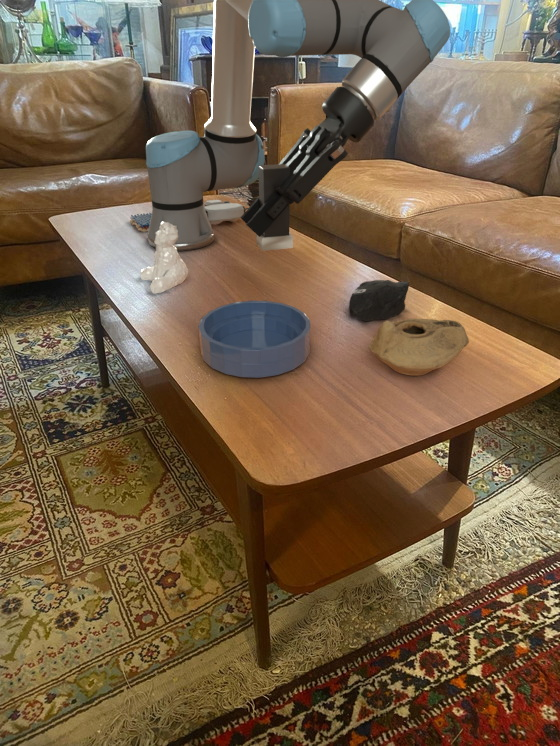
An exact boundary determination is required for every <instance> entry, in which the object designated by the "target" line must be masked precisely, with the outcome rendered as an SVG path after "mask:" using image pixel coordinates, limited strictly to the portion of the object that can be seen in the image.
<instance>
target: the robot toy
mask: <svg viewBox="0 0 560 746" xmlns="http://www.w3.org/2000/svg"><path fill="white" fill-rule="evenodd" d="M203 204H204V209H205V211H206V214H207V216H208V219H209V221H210V224H211V225H219V224H220V225H221V223H222V222H226V221H228V222H230V223H236V222H238V221H239V219H241V217H242V215H243V214H244V213H245V212H246V211H247V210H248V208H249V207H245V206H244V205H243V204H241V203H237V202H230V201H229V200H225V201H222V200H221V199H209V200H206V201H205V202H203Z"/></svg>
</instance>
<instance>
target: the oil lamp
mask: <svg viewBox="0 0 560 746" xmlns="http://www.w3.org/2000/svg"><path fill="white" fill-rule="evenodd" d="M469 343H470V340H469V337H468V334H467V332H466V329H465V327H464V326H463V325H462V323H461V322H459V321H457V320H452V319H442V320H439V319H432V318H429V319H427V318H408V319H407V318H405V319H399V320H395V321H391V320H385V321H383V322H382V323H381V325H380V326H379V328H378V330H377V333H376V334H375V335H374V336H373V338H372V340H371V343H370V344H368V349H369V350H370V351H371V352H372V353H373V354H374V355H375V356H376V357H377V359H379V360H380V361H381V362H382V363H383V364H385V365H387V366H388V367H390V368H391V369H392V370H393V371H394V372H396V373H399V374H401V375H406V376H424V375H426V374H428V373H431V372H432V371H434V370H438V369H440V368H442V367H444V366H446V365H447V364H449V363H450V362H451V361H453V360H454V359H455V358H456V357H457V356H458V355H459V354H460V353H461V352H462V351H463V350H464V349H465V347H467V345H468V344H469Z"/></svg>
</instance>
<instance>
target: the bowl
mask: <svg viewBox="0 0 560 746" xmlns="http://www.w3.org/2000/svg"><path fill="white" fill-rule="evenodd" d="M198 335H199V346H200V348H199V349H200V354H201V358H202V360H203V362H205V363H206V365H208V366H209V367H210V368H211V369H213V370H216V371H218V372H221V373H222V374H225V375H229V376H234V377H240V378H256V379H257V378H266V377H273V376H279V375H283V374H285V373H288V372H290V371H293V370H295V369H296V368H298V367H299V366H301V365H302V364H303V363H305V362H306V361H307V359H308V357H309V355H310V351H311V350H310V348H311V320H310V318H309V317H308V315H307V314H306V313H305V312H304V311H302V310H301V309H299V308H297V307H295V306H293V305H289V304H286V303H284V302H278V301H272V300H271V301H270V300H242V301H235V302H234V301H233V302H231V303H226V304H223V305H220V306H217V307H216V308H214V309H212V310H209V311H208V312H207V313H205V315H204V316H202V317H201V318H200V321H199V324H198Z"/></svg>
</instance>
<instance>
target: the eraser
mask: <svg viewBox="0 0 560 746" xmlns="http://www.w3.org/2000/svg"><path fill="white" fill-rule="evenodd" d="M258 169H259V178H258V197H259V209H260V208H261V207H262V205H263V204H264V203H265V202H266V201H267V200H268V199H269V197H270V196H271V195H272V194H273V193H274V192H275V191H276V190H275V188H276V186H278V187H280V188H282V186H283V185H284V184H285V182H286V181H287V180H288V179H289V177H290V168H289V167H288V166H286V165H285V164H279V163H275V164H264V165H259V166H258ZM276 192H277V191H276ZM277 193H278V192H277ZM278 194H279V193H278ZM279 195H280V194H279ZM288 204H289V203H288ZM290 206H291V204H289V205H288V206H287V207H286V208H285V209H284V210H283V212H282V213H281V214H280V215H279V216H278V217H277V218H276V219H275V221H274V222H273V223H272V224H271V225H270V226H269V227H268V229H267V230H266V231H265V232H264V233H263V234H262V235H261V236H260V237H259V236H258V235H257V234H256V233H255V235H256V236H255V237H256V239H255V240H256V242H255V243H256V246H258V248H259V249H260V251H262V252H266V251H277V250H287V249H293V248H294V235H293V234H292V233H291V232H290V220H291V219H290V217H291V216H290V212H291V211H290Z"/></svg>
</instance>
